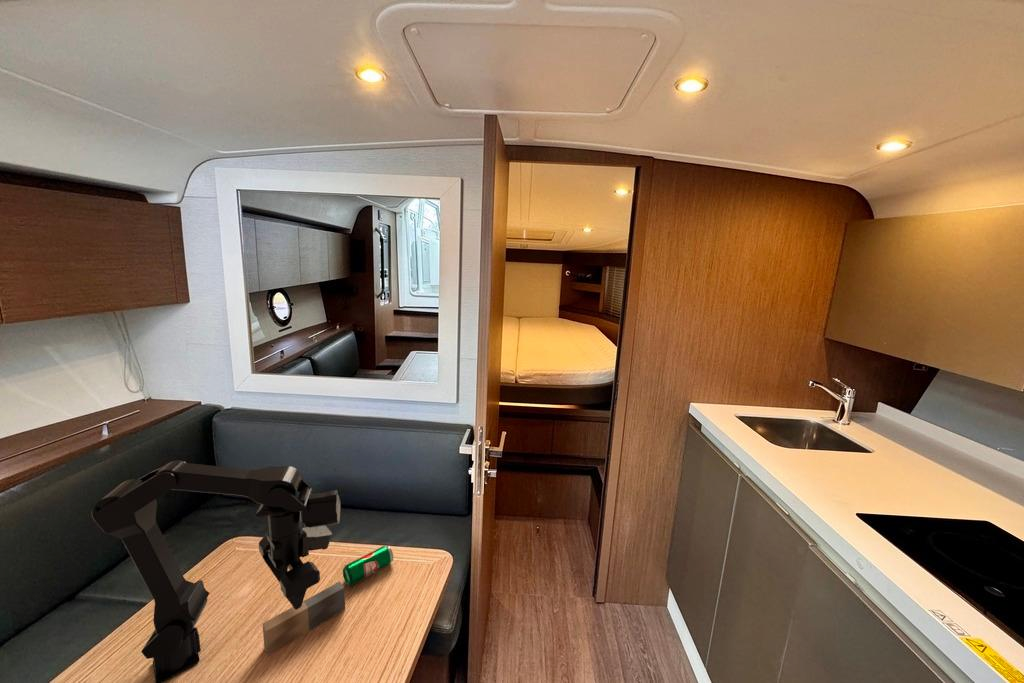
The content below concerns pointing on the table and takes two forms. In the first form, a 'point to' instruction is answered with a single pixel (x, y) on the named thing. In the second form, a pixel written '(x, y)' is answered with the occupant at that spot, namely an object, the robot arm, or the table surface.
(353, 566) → the soda can
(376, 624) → the table surface
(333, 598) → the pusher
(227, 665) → the table surface
